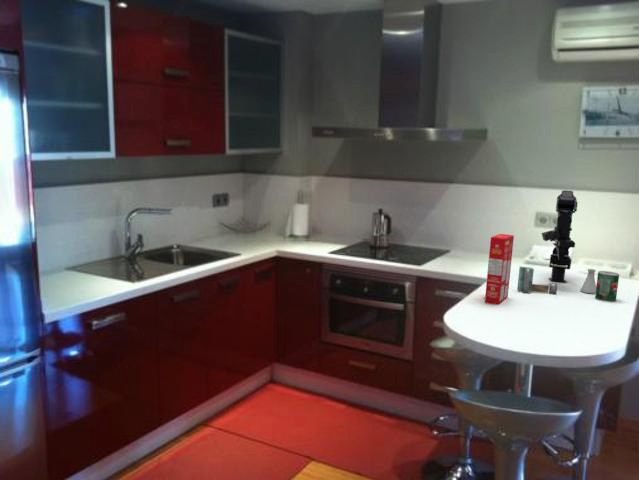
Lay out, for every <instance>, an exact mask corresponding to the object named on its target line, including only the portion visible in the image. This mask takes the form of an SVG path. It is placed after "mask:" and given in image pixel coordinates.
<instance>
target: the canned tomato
mask: <svg viewBox="0 0 639 480" xmlns="http://www.w3.org/2000/svg"><path fill="white" fill-rule="evenodd" d="M619 278H620V274H619V273H618V272H613V271H606V270H605V271H604V270H599V271H597V278H596V293H595V294H594V299H595V300H597V301H601V302H607V303H615V302H617V295H618V288H619V281H620V279H619Z"/></svg>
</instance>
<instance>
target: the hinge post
mask: <svg viewBox="0 0 639 480" xmlns="http://www.w3.org/2000/svg"><path fill="white" fill-rule="evenodd" d="M557 293H558V284H557V283H549V289H548V294H550V295H557Z"/></svg>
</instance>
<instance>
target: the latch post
mask: <svg viewBox="0 0 639 480" xmlns="http://www.w3.org/2000/svg"><path fill="white" fill-rule="evenodd" d="M530 276H531V269H525V274H524V284H523V291H522V294H524V295H525V294H526V295H527V294H530V292H529V286H530Z"/></svg>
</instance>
